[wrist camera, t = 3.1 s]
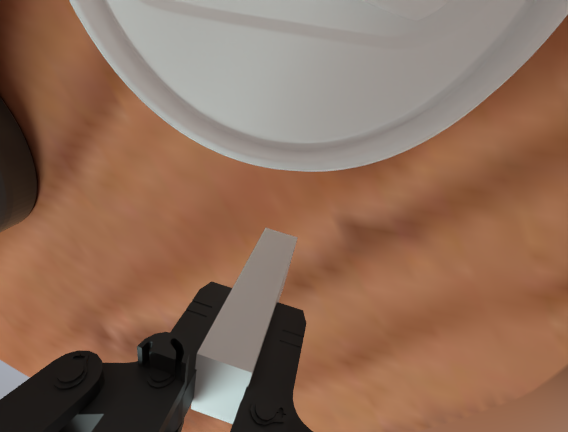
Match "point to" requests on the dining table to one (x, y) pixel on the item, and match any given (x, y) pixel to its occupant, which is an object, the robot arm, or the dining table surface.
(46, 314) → the dining table surface
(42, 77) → the dining table surface
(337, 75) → the beverage can
